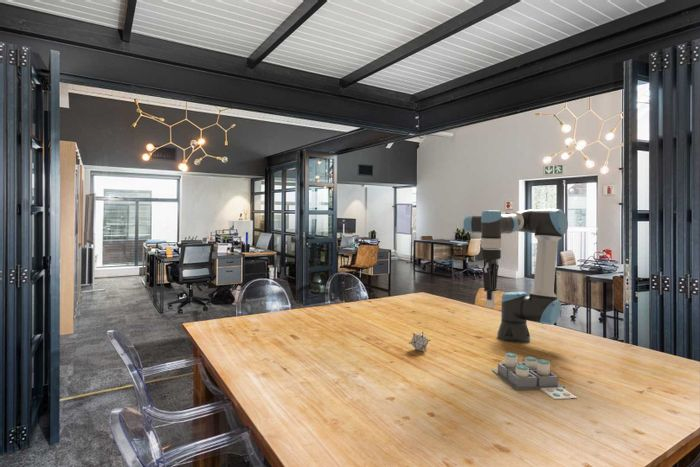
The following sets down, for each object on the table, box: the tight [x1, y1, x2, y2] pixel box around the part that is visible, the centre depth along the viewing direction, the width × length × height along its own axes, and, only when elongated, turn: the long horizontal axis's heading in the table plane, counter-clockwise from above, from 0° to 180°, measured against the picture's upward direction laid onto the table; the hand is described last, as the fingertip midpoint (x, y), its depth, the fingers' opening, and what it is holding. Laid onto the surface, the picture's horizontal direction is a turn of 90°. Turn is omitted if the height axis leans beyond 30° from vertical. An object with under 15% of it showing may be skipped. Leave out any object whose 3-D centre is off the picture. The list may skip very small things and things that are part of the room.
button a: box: [516, 365, 529, 377], centre depth 145 cm, size 4×4×5 cm
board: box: [492, 361, 566, 391], centre depth 149 cm, size 18×18×4 cm
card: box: [539, 387, 578, 400], centre depth 137 cm, size 8×8×1 cm
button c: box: [536, 358, 551, 376], centre depth 145 cm, size 4×4×5 cm
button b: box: [504, 352, 518, 369], centre depth 153 cm, size 4×4×5 cm
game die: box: [408, 331, 431, 353], centre depth 181 cm, size 9×8×10 cm
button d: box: [524, 356, 538, 368], centre depth 153 cm, size 4×4×5 cm
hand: (490, 307), depth 162 cm, fingers closed
